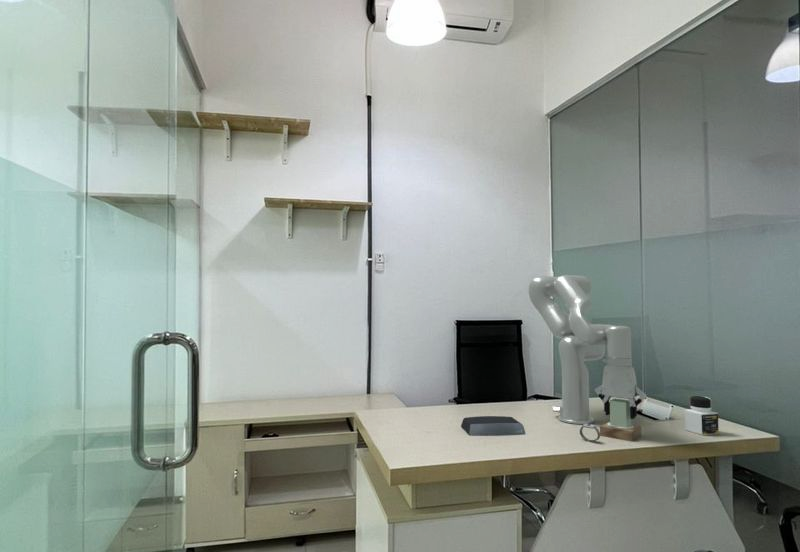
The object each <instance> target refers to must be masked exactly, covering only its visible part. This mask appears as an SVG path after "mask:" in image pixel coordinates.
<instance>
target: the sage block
mask: <svg viewBox="0 0 800 552" xmlns="http://www.w3.org/2000/svg"><path fill="white" fill-rule="evenodd" d="M609 402H610V414H609V421H610V425H614V426H620V427H628V426H630V425H632V419H631V418H630V407H631V403H630V401H629V399H624V398H613V399H610V400H609Z"/></svg>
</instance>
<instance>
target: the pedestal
mask: <svg viewBox="0 0 800 552" xmlns="http://www.w3.org/2000/svg"><path fill="white" fill-rule="evenodd" d="M599 432H600V437H601V436H602V437H607V438H611V439H617V440H623V441H628V442H634V441H635V440H636V439H638V438H640V437H641V436H642V426H641V425H636V424H631V425H630V426H628V427H620V426H614V425H610V420H609V421H608V422H606V423H604V424H601V425H600V426H599Z"/></svg>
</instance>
